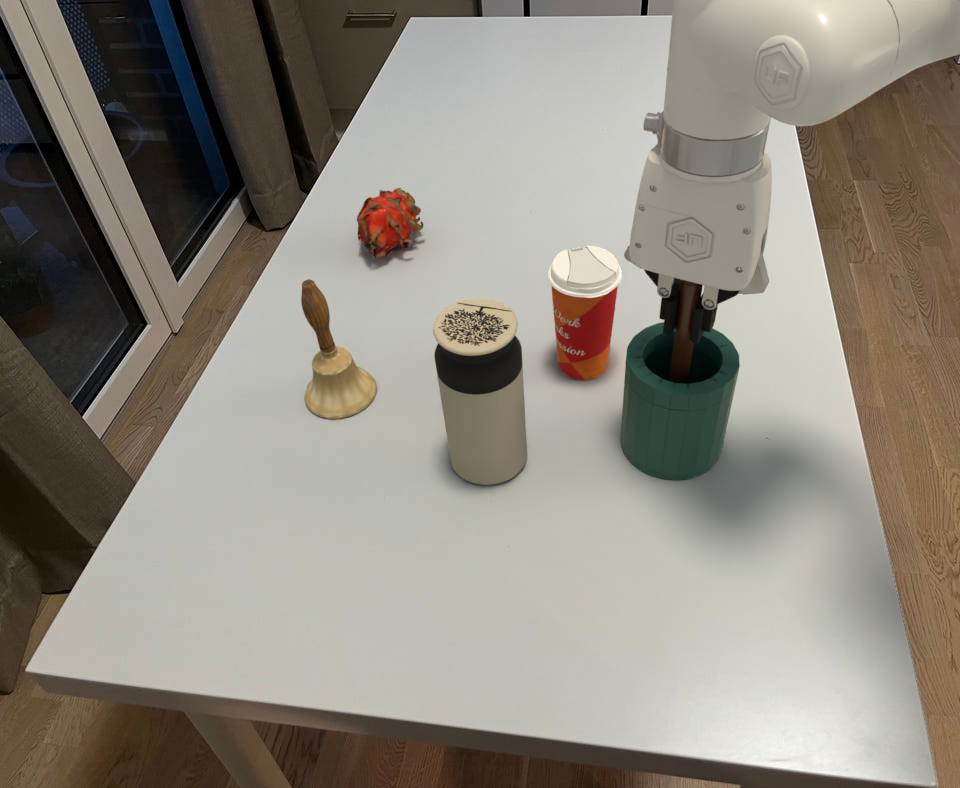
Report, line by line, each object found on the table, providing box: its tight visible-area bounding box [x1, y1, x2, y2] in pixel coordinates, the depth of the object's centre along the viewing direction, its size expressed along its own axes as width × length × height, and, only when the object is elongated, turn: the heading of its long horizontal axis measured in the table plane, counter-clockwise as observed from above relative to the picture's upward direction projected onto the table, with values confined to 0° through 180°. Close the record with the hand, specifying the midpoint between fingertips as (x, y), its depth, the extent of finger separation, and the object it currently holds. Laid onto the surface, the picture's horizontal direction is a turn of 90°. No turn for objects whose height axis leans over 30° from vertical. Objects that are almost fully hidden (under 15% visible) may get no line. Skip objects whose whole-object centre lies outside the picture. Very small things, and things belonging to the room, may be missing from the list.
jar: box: [620, 321, 740, 481], centre depth 78 cm, size 10×10×12 cm
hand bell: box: [300, 278, 378, 420], centre depth 85 cm, size 8×8×16 cm
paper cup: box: [547, 245, 623, 381], centre depth 86 cm, size 8×8×14 cm
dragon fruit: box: [356, 187, 424, 259], centre depth 109 cm, size 8×8×12 cm
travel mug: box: [432, 298, 528, 486], centre depth 76 cm, size 8×8×18 cm
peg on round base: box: [669, 280, 704, 384], centre depth 75 cm, size 4×4×20 cm
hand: (685, 328), depth 71 cm, fingers closed on peg on round base, 2 cm apart
